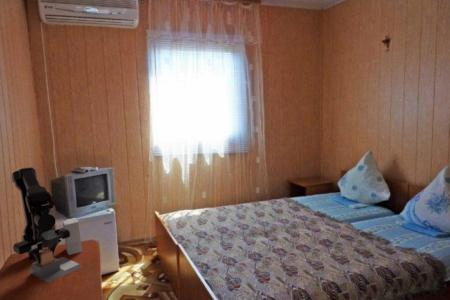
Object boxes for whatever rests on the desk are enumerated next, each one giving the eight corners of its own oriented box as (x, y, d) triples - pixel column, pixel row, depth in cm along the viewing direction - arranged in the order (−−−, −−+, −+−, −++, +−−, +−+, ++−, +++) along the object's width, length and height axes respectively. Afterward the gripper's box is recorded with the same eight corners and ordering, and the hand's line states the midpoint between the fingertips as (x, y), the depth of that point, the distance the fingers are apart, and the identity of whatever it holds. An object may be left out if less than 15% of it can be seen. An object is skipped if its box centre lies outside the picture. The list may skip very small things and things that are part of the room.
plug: (38, 272, 121) (36, 251, 119) (49, 267, 124) (47, 247, 123) (43, 275, 118) (41, 253, 117) (54, 270, 122) (52, 249, 120)
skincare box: (82, 253, 137) (79, 221, 136) (67, 257, 134) (64, 225, 132) (79, 247, 144) (76, 216, 142) (65, 250, 141) (62, 219, 139)
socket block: (27, 273, 122) (26, 261, 121) (63, 258, 133) (61, 247, 133) (47, 285, 113) (46, 272, 112) (83, 268, 124) (82, 256, 124)
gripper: (23, 235, 106) (28, 277, 108) (75, 218, 121) (79, 256, 123) (10, 229, 113) (15, 269, 115) (61, 214, 128) (65, 249, 130)
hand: (45, 260), depth 121 cm, fingers closed on plug, 4 cm apart
